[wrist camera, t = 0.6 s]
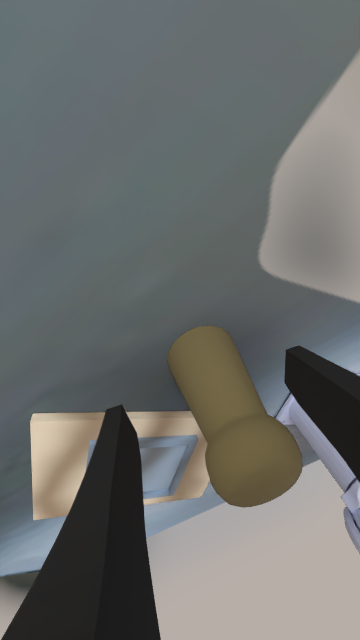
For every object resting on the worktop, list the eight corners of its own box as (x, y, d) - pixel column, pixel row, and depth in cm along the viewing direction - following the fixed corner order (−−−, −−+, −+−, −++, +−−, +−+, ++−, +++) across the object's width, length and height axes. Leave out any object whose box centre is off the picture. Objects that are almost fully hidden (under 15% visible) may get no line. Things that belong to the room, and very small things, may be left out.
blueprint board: (241, 410, 27) (247, 421, 26) (199, 490, 34) (202, 501, 33) (33, 413, 20) (28, 428, 19) (35, 511, 28) (31, 526, 26)
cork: (208, 387, 24) (268, 524, 15) (154, 370, 21) (187, 524, 12) (247, 340, 22) (345, 463, 13) (193, 314, 19) (268, 447, 10)
